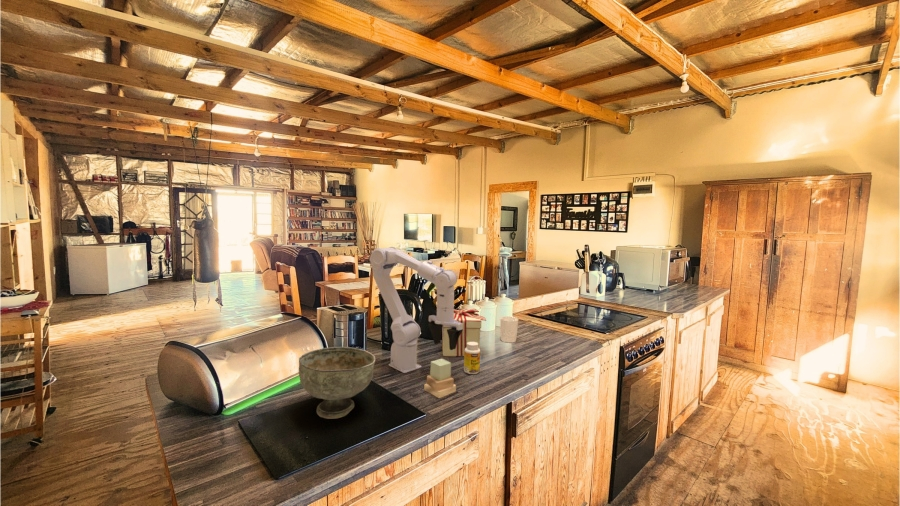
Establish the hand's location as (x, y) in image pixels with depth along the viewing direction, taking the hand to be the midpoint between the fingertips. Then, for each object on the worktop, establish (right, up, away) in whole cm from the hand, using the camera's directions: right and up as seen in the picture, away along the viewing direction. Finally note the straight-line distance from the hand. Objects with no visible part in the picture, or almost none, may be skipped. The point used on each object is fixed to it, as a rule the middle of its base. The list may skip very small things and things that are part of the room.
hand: (444, 346), depth 125 cm
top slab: (-1, -9, -10) cm, 14 cm away
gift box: (+7, -9, +25) cm, 27 cm away
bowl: (-30, -12, -22) cm, 39 cm away
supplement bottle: (+9, -10, +5) cm, 15 cm away
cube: (-1, -7, -10) cm, 12 cm away
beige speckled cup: (+28, -8, +40) cm, 50 cm away
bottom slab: (-1, -12, -10) cm, 16 cm away
